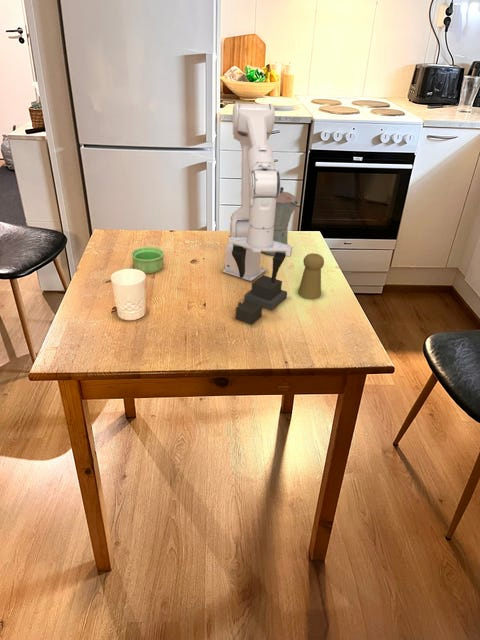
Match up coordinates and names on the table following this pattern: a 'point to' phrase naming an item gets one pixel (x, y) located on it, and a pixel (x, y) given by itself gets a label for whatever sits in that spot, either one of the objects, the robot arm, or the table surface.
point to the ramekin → (148, 259)
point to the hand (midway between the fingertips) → (257, 278)
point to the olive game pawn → (311, 277)
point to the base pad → (267, 303)
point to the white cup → (129, 293)
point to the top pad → (248, 312)
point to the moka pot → (283, 216)
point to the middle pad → (266, 287)
